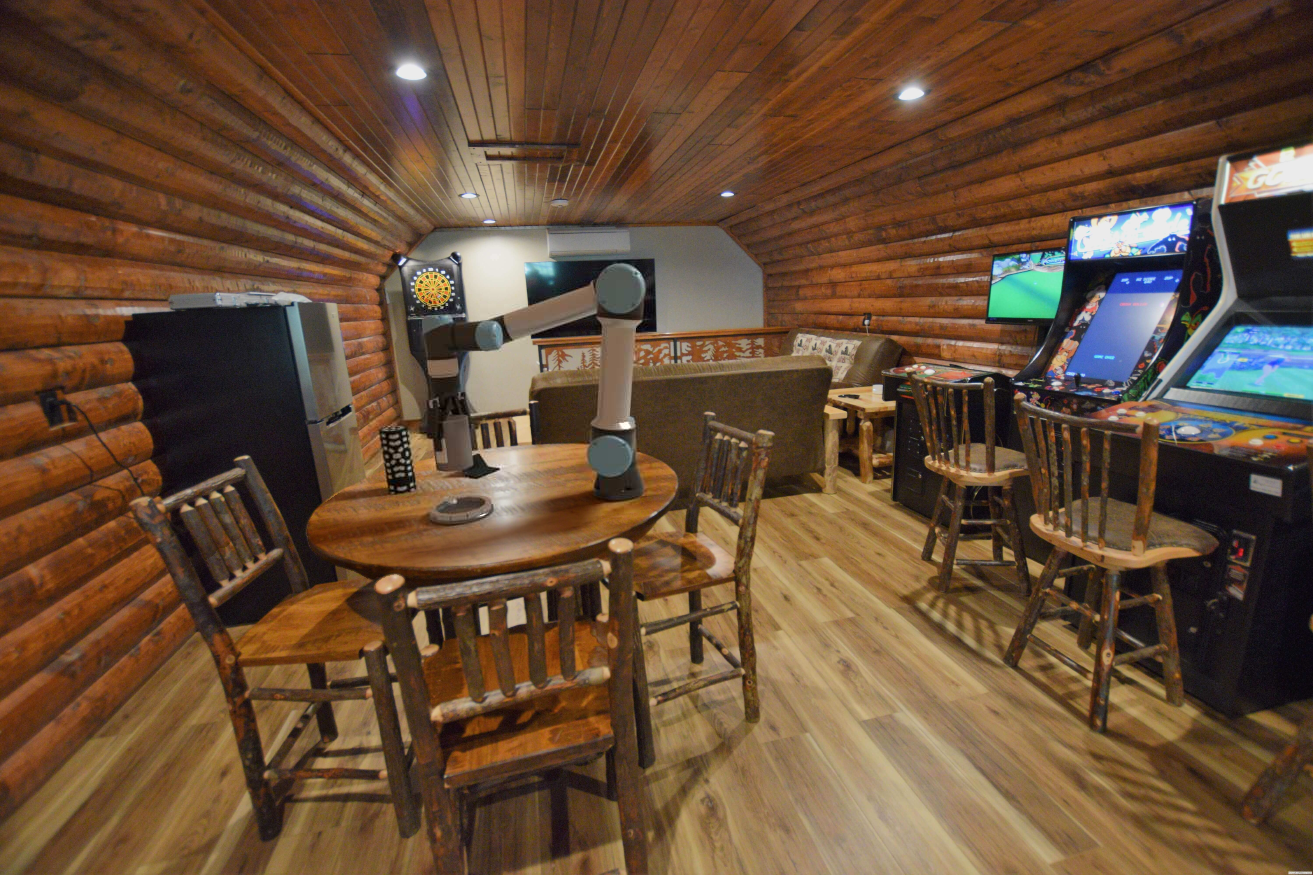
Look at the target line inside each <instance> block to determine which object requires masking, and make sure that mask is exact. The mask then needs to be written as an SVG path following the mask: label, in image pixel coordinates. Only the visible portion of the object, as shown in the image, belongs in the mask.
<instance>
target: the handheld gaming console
mask: <svg viewBox="0 0 1313 875" xmlns="http://www.w3.org/2000/svg"><path fill="white" fill-rule="evenodd" d="M472 456H473V466H471V467H468V468H467V469H464V470H460V471H461V472H462V474H463V475H464V478H467V477H469V479H475V478H477V480H479V479H481V477H482V478H483V476H484V477H487V476H489V475H491V474H494V473H496V472H498V471H501V469H500V467H496V466H489V465H488V463H486V461H485V459H484V458H483V456H482V455H481V454H480V453H479V452H478V453H476V454H472ZM488 474H489V475H488ZM486 475H487V476H486ZM478 478H479V479H478Z"/></svg>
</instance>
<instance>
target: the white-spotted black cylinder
mask: <svg viewBox="0 0 1313 875" xmlns="http://www.w3.org/2000/svg"><path fill="white" fill-rule="evenodd" d="M378 436H379V439H380V440H379V442H380V446H381V447H380V448H381V454H382V459H383V461H382V462H383V467H384V472H385V478H386V479H385V480H386V483H387V485H386V486H387V490H388V493H389V494H391V495H401V494H402V493H403V494H407V492H408V493H411V492H413V491H415V490H417V488H418V486H417V481H416V480H417V478H416V474H415V466H414V459H413V451H412V446H411V439H410V432H409V426H407V425H392V426H385V427H381V428H379V429H378Z"/></svg>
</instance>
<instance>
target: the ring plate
mask: <svg viewBox="0 0 1313 875" xmlns="http://www.w3.org/2000/svg"><path fill="white" fill-rule="evenodd" d="M494 510H495V509H494V504H493V503H492V498H490V497H487V496H485V495H478V494H477V495H476V494H469V495H468V494H467V495H460V496H454V497H450V498H447V499H443V500H440V501H438V502H437V503H434V504H433V505H431V507H430V510H429V514H428V518H429V521H430V522H431V523H432V524H435V525H439V526H461V525H465V524H466V525H467V524H471V523H474V522H478V521H480V520H484V519H485V518H487V517H489V516H490V515H492V513H494Z"/></svg>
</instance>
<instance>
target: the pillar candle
mask: <svg viewBox="0 0 1313 875" xmlns="http://www.w3.org/2000/svg"><path fill="white" fill-rule="evenodd" d="M438 423H441V422H438ZM443 430H444V432H443V437H442V439H445V443H446V451H447V459H448V463H437V456H436V451H435V447H434V440H433V439H432V446H433V452H434V453H433V454H434V461H435V469H436V470H437V471H439V472H442V473H443V472H445V473H448V472H449V473H451V472H459V471H461V470H464V469H467V468H468V467H471V466H473V456H472V455H473V448H472V439H471V432H470V429H469V422H468V416H467V415H464V414H462V415H453V414H452V413H449V414H448V415H447V416H446V421H443Z"/></svg>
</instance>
